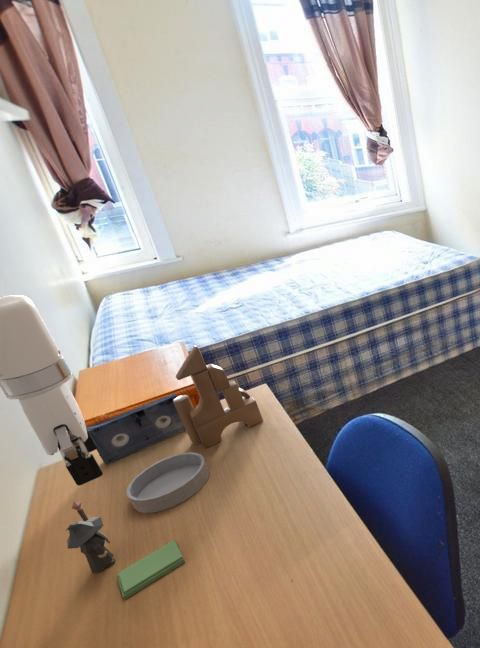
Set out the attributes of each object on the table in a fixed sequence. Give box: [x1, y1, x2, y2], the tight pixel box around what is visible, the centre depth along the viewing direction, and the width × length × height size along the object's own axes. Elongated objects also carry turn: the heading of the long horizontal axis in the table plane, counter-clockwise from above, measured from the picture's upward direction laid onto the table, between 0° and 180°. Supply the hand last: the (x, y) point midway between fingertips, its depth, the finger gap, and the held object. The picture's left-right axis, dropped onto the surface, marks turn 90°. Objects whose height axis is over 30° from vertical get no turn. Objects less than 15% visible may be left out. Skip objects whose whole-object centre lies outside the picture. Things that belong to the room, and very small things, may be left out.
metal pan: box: [125, 452, 210, 514], centre depth 102 cm, size 14×14×4 cm
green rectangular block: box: [116, 539, 186, 600], centre depth 83 cm, size 9×6×1 cm, turn 137°
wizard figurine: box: [65, 500, 116, 574], centre depth 83 cm, size 8×6×12 cm
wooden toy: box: [173, 344, 264, 449], centre depth 115 cm, size 16×7×25 cm, turn 136°
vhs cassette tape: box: [86, 393, 186, 466], centre depth 116 cm, size 18×3×10 cm, turn 133°
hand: (88, 465), depth 77 cm, fingers open, 9 cm apart
